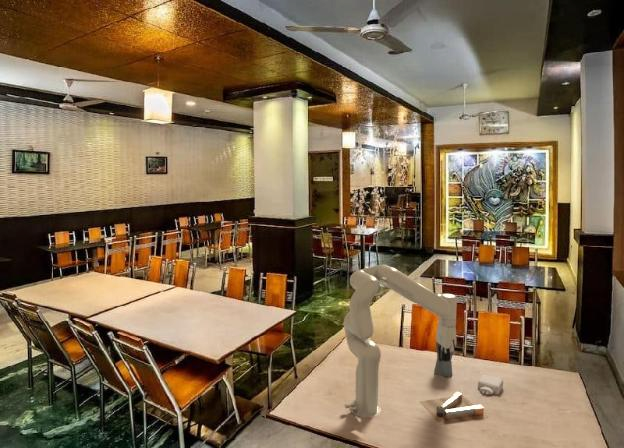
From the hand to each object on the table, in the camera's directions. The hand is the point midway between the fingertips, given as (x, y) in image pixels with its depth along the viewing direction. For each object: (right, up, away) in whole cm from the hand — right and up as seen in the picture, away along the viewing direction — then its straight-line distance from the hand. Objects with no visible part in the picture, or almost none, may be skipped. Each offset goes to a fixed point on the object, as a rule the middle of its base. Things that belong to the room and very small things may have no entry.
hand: (445, 360), depth 190 cm
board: (-1, -18, -12) cm, 22 cm away
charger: (+22, -17, +6) cm, 29 cm away
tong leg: (-2, -17, -11) cm, 20 cm away
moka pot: (+6, -15, +23) cm, 28 cm away
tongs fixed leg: (+2, -18, -17) cm, 25 cm away
